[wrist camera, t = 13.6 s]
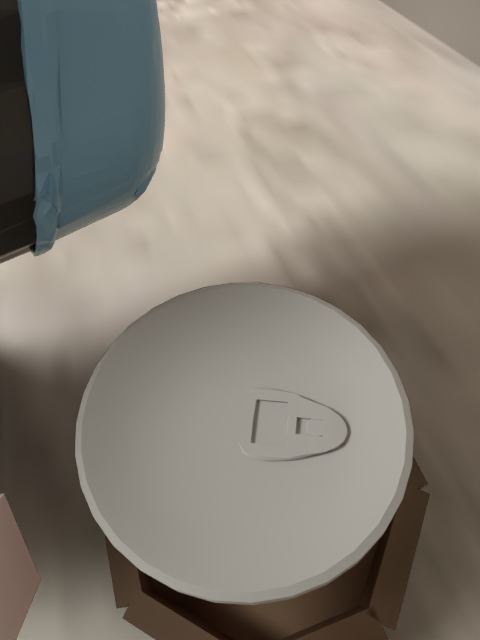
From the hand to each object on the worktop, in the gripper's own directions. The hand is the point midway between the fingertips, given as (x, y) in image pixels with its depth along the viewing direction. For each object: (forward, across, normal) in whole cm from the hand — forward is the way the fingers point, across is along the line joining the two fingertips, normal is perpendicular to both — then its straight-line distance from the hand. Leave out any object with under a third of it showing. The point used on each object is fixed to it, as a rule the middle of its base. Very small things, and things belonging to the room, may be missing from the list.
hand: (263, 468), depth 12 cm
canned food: (+7, 0, -6) cm, 9 cm away
